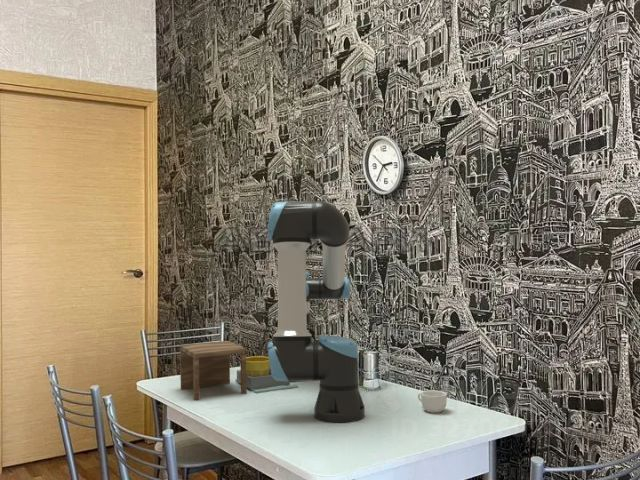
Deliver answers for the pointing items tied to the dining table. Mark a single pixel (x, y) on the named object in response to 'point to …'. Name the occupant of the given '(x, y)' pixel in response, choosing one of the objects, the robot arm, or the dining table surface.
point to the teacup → (433, 400)
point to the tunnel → (209, 365)
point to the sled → (261, 381)
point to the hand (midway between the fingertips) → (300, 374)
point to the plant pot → (257, 366)
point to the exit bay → (274, 388)
